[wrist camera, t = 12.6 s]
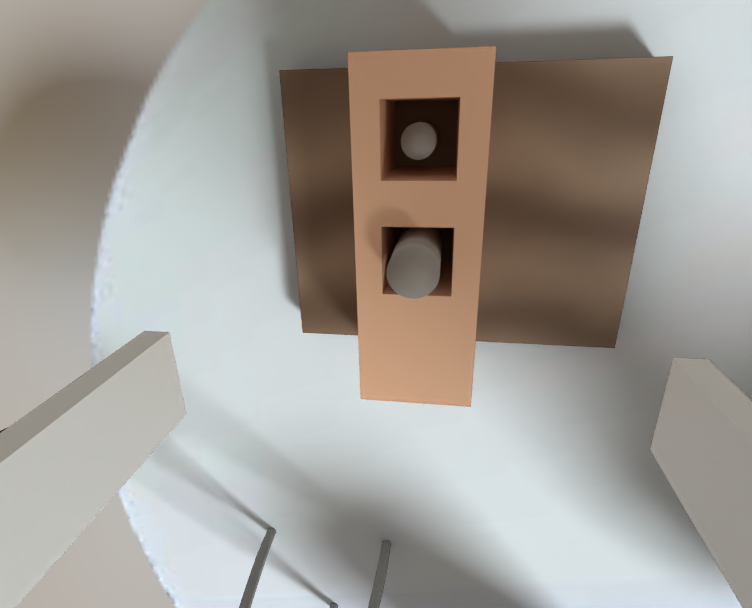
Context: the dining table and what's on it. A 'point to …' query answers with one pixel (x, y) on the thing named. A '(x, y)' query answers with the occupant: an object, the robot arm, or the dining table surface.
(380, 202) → the block
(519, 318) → the post base
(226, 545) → the dining table surface
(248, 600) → the citrus juicer
